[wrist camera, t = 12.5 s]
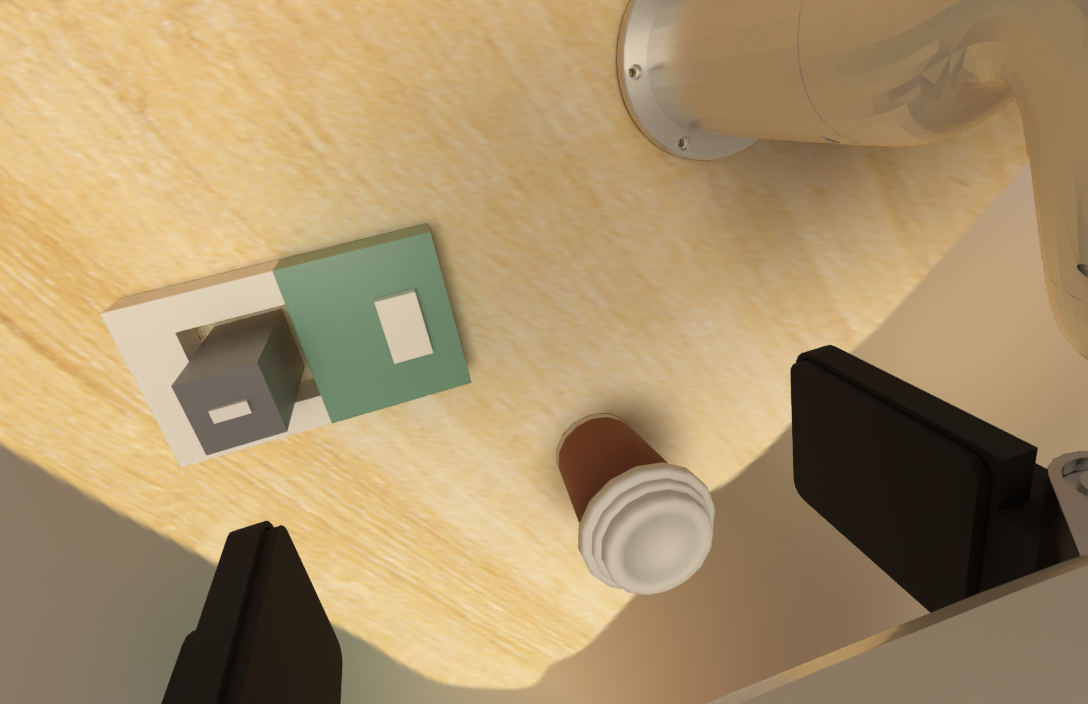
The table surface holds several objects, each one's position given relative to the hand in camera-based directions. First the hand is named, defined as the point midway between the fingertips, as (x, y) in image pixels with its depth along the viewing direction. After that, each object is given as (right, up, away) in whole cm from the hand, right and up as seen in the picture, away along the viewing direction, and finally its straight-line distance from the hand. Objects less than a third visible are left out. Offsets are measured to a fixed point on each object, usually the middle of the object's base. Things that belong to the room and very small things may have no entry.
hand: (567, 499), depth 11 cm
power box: (-15, +4, +28) cm, 32 cm away
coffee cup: (+4, -5, +37) cm, 37 cm away
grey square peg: (-18, +3, +27) cm, 33 cm away
